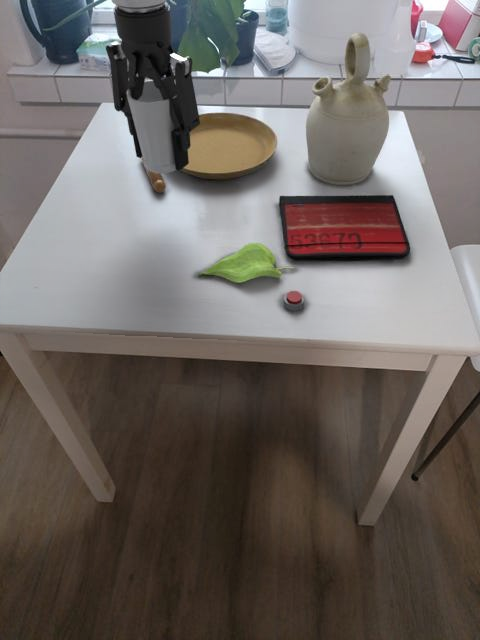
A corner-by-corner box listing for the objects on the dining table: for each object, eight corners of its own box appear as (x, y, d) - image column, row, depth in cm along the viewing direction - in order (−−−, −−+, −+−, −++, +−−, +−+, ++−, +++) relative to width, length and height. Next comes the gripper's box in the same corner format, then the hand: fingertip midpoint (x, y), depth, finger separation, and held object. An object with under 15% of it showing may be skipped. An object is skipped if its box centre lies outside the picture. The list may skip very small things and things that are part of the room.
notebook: (279, 194, 89) (394, 193, 89) (278, 204, 91) (390, 203, 91) (286, 254, 79) (415, 253, 79) (285, 265, 81) (411, 263, 81)
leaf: (296, 285, 77) (297, 275, 75) (197, 287, 77) (196, 278, 75) (291, 248, 83) (292, 239, 81) (198, 250, 82) (198, 241, 81)
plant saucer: (271, 190, 94) (272, 175, 92) (149, 182, 96) (147, 167, 94) (280, 129, 110) (281, 115, 107) (175, 123, 112) (173, 109, 109)
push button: (284, 310, 73) (285, 303, 72) (282, 296, 75) (283, 289, 74) (304, 309, 73) (305, 303, 72) (302, 295, 75) (303, 288, 74)
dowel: (167, 193, 94) (166, 182, 92) (155, 196, 93) (153, 185, 91) (150, 156, 103) (149, 145, 101) (139, 158, 102) (137, 148, 100)
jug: (298, 187, 95) (312, 48, 76) (304, 147, 105) (318, 15, 86) (378, 194, 93) (413, 54, 74) (376, 152, 103) (406, 20, 84)
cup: (184, 176, 80) (177, 102, 71) (135, 176, 80) (122, 102, 71) (188, 150, 85) (182, 79, 76) (142, 150, 85) (131, 79, 76)
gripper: (221, 7, 63) (225, 165, 81) (101, -15, 70) (128, 135, 87) (188, 25, 59) (200, 188, 76) (64, -1, 66) (101, 154, 83)
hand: (162, 159), depth 82 cm, fingers closed on cup, 7 cm apart
